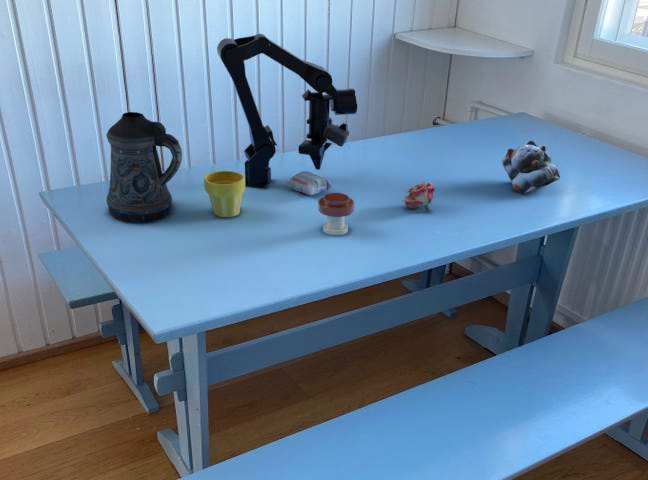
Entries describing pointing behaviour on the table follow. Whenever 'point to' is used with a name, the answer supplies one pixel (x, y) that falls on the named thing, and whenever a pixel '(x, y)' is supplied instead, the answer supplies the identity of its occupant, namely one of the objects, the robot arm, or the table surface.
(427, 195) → the flower
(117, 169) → the beer stein
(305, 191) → the packaged food
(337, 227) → the mushroom
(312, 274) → the table surface
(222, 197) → the flower pot
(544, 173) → the lucky cat figurine
